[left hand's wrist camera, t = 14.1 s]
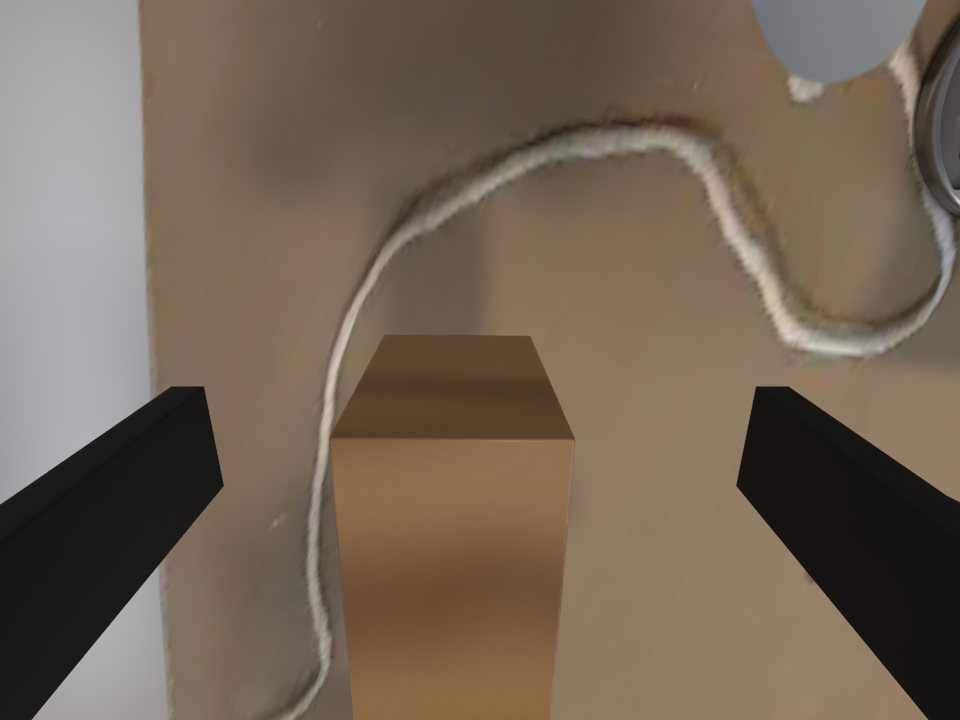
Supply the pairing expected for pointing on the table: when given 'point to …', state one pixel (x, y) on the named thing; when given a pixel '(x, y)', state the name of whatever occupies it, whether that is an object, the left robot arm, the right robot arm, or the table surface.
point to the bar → (452, 529)
